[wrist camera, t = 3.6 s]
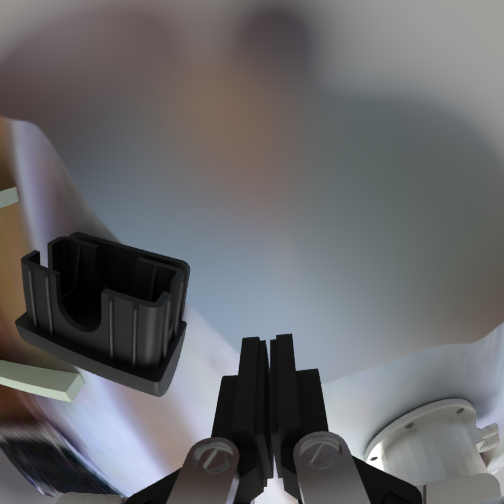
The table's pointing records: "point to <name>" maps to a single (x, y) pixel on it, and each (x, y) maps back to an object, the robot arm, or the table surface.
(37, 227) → the table surface
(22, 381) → the holder
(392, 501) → the robot arm
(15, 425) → the table surface
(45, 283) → the end cap
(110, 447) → the table surface
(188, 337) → the table surface
